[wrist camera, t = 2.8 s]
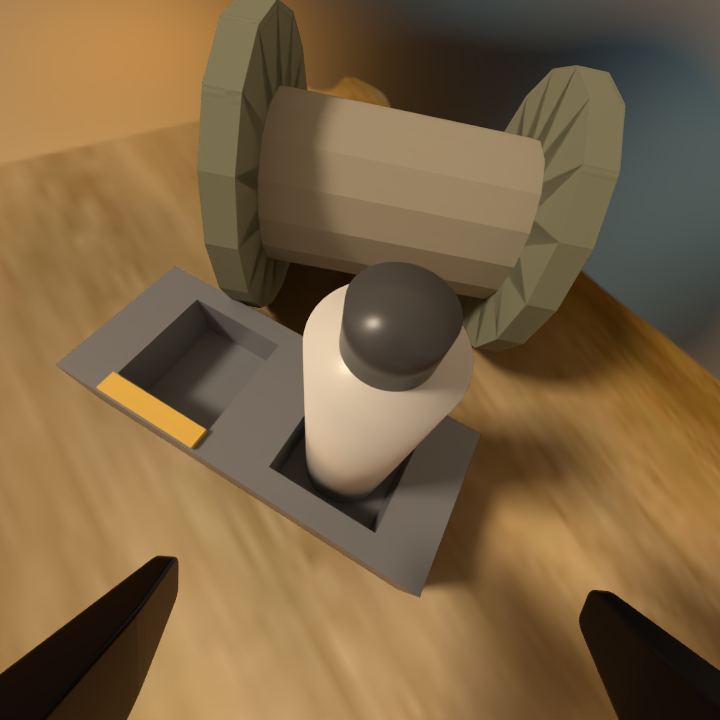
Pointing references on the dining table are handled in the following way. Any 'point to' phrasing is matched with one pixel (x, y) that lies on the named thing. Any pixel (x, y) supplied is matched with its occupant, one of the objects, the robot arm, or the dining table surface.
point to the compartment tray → (264, 421)
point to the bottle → (379, 374)
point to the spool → (399, 181)
